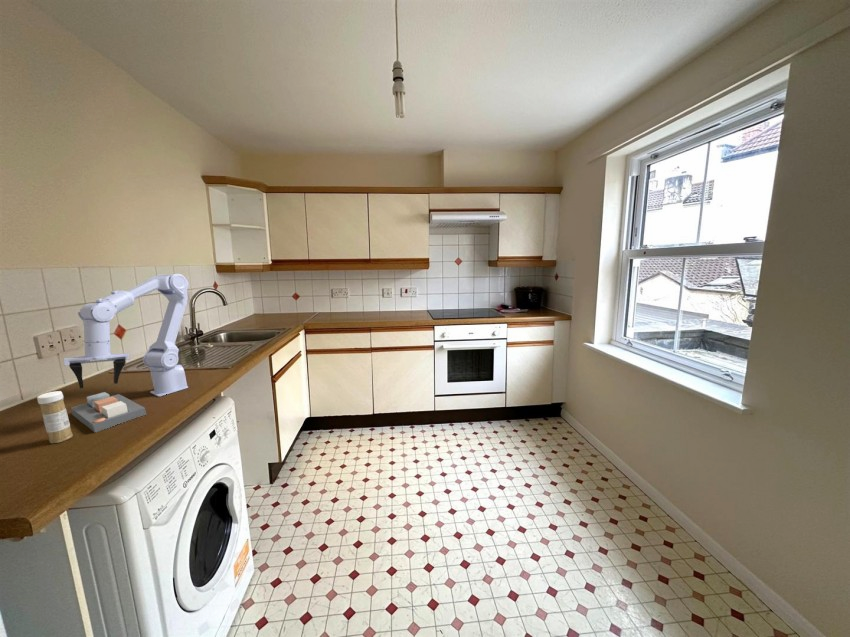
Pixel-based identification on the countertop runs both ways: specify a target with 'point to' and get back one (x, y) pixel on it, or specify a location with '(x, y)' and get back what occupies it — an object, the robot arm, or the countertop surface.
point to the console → (100, 422)
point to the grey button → (96, 398)
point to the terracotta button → (104, 403)
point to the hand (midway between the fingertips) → (99, 385)
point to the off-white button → (114, 409)
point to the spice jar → (55, 416)
